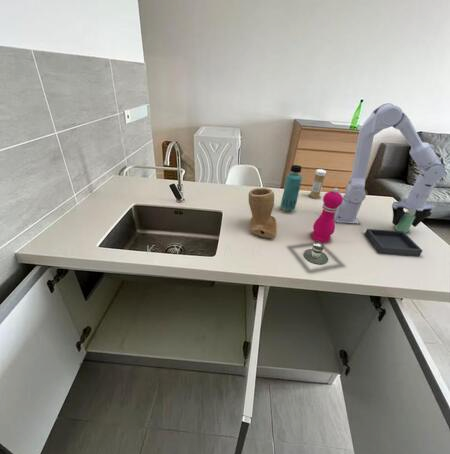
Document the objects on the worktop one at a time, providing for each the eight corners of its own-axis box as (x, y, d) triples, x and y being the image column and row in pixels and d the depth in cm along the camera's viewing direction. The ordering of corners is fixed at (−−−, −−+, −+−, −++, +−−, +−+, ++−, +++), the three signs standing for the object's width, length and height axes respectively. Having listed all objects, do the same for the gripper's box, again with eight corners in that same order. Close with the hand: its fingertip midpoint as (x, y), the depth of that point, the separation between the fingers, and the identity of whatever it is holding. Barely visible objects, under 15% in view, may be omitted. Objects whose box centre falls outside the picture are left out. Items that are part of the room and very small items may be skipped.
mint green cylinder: (398, 232, 95) (407, 215, 91) (392, 226, 99) (401, 209, 95) (409, 233, 95) (419, 215, 91) (403, 227, 99) (412, 210, 95)
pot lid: (341, 265, 77) (346, 253, 74) (309, 271, 74) (313, 259, 71) (319, 243, 87) (322, 231, 84) (289, 247, 83) (292, 235, 81)
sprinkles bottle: (321, 197, 120) (328, 171, 112) (315, 199, 117) (322, 172, 110) (313, 193, 123) (320, 168, 116) (307, 195, 120) (314, 169, 113)
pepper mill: (306, 234, 91) (320, 185, 80) (321, 230, 94) (336, 182, 83) (319, 245, 85) (336, 194, 75) (335, 241, 88) (353, 191, 77)
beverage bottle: (278, 211, 105) (286, 166, 95) (281, 205, 110) (289, 162, 100) (293, 215, 103) (304, 169, 93) (295, 208, 108) (305, 164, 98)
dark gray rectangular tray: (379, 253, 83) (382, 247, 82) (364, 234, 93) (366, 228, 92) (419, 256, 83) (422, 250, 82) (400, 236, 93) (403, 231, 92)
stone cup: (247, 215, 100) (250, 182, 93) (276, 219, 99) (282, 185, 91) (242, 236, 88) (246, 199, 80) (275, 241, 86) (282, 204, 78)
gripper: (406, 197, 86) (390, 228, 93) (448, 199, 85) (429, 231, 92) (395, 188, 92) (381, 219, 99) (434, 191, 91) (417, 221, 98)
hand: (403, 224), depth 96 cm, fingers open, 7 cm apart
